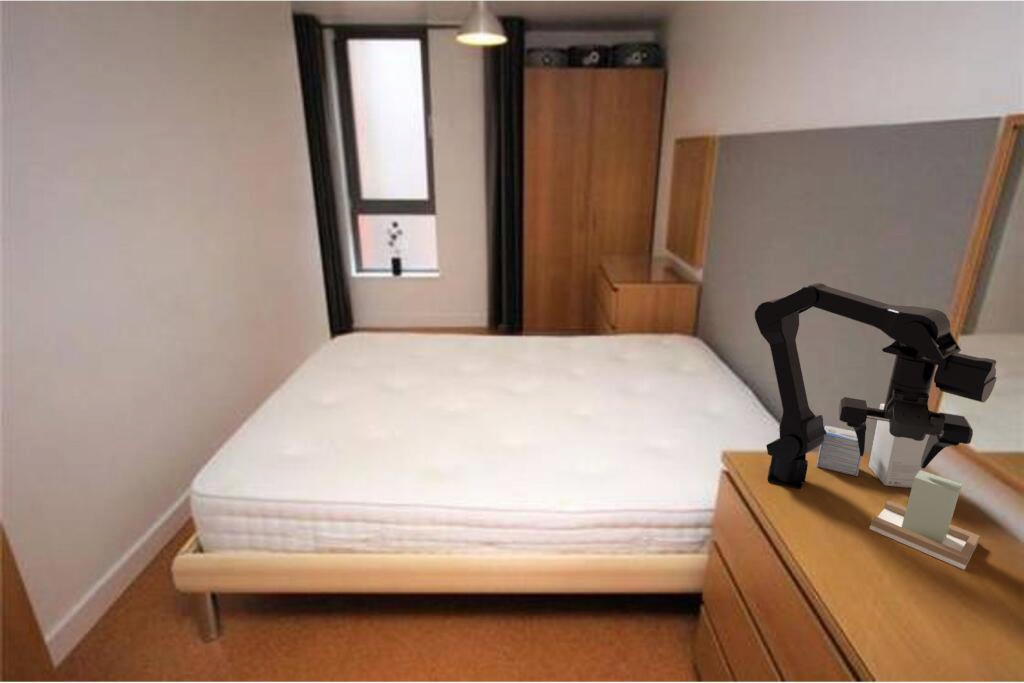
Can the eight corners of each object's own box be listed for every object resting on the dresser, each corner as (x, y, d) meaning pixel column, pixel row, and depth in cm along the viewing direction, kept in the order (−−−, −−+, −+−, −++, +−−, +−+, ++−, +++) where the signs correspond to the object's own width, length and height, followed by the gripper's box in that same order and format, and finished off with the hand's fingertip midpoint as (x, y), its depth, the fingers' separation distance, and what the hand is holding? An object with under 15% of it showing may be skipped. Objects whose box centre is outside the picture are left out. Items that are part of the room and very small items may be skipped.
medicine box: (857, 467, 119) (865, 433, 116) (857, 477, 115) (865, 442, 112) (817, 458, 123) (824, 424, 120) (815, 467, 119) (822, 432, 116)
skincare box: (917, 489, 111) (935, 422, 106) (881, 486, 112) (898, 419, 107) (898, 467, 118) (914, 403, 113) (865, 465, 120) (879, 401, 115)
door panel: (900, 529, 98) (914, 477, 95) (906, 520, 100) (920, 470, 97) (941, 545, 94) (957, 492, 90) (946, 537, 96) (962, 484, 92)
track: (869, 528, 99) (871, 520, 99) (887, 506, 105) (889, 499, 105) (964, 569, 89) (967, 561, 89) (978, 542, 95) (980, 534, 95)
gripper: (849, 389, 90) (832, 470, 95) (992, 411, 81) (966, 499, 86) (846, 367, 99) (831, 442, 104) (975, 385, 90) (952, 465, 95)
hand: (891, 461), depth 97 cm, fingers open, 9 cm apart
